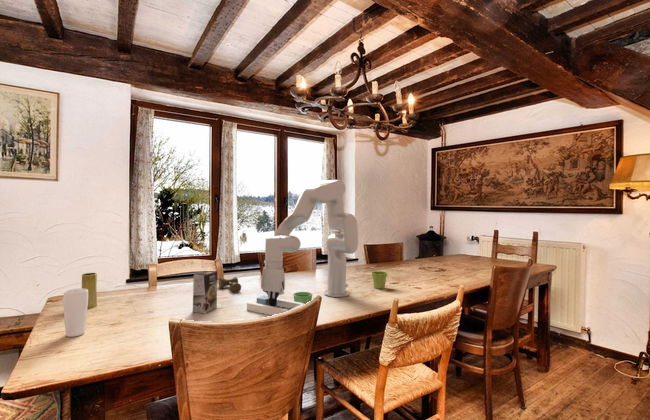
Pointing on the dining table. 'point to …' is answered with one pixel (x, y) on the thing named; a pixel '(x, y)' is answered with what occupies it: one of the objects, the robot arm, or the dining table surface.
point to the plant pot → (379, 279)
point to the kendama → (232, 282)
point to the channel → (271, 309)
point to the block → (263, 300)
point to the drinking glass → (75, 311)
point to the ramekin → (302, 297)
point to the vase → (90, 288)
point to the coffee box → (205, 291)
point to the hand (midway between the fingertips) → (272, 306)
